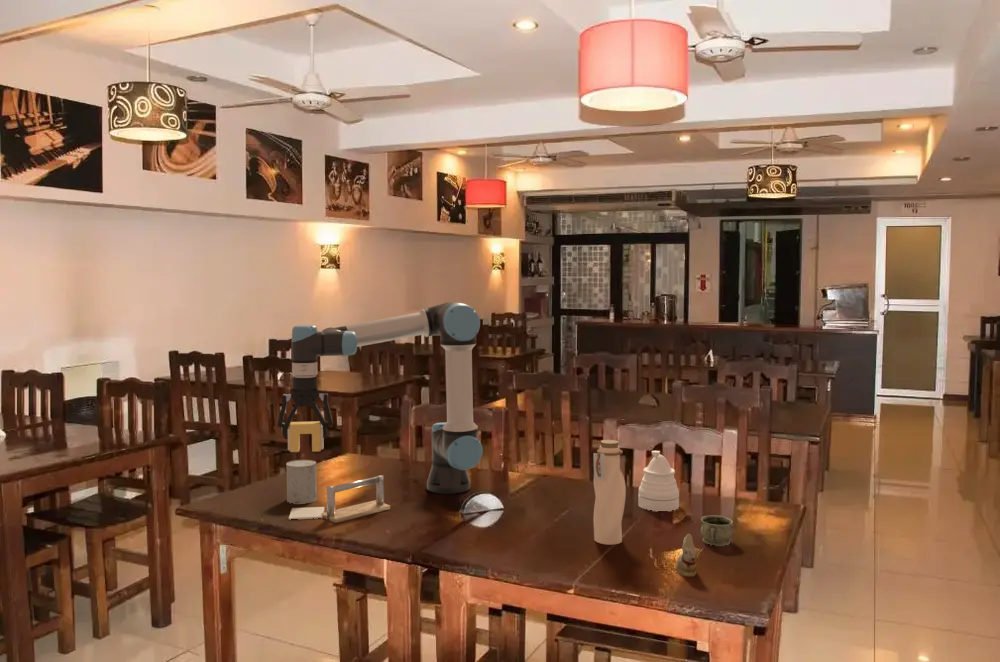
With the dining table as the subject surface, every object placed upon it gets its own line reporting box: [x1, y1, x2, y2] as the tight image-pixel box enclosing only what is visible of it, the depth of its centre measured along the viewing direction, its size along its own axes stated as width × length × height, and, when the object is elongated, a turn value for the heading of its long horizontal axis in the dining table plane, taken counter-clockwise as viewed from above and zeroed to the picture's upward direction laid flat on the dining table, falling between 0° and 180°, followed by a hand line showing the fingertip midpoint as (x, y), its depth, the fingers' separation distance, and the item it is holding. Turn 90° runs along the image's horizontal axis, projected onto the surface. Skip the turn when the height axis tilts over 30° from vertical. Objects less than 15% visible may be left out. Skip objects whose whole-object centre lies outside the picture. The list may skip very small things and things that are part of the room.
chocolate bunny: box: [675, 533, 698, 578], centre depth 198 cm, size 6×8×10 cm
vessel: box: [700, 515, 734, 547], centre depth 220 cm, size 12×9×6 cm
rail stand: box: [321, 474, 391, 524], centre depth 245 cm, size 20×8×10 cm, turn 134°
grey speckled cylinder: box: [286, 459, 318, 505], centre depth 259 cm, size 10×10×12 cm
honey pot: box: [637, 450, 680, 512], centre depth 254 cm, size 13×13×18 cm
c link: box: [289, 420, 322, 453], centre depth 242 cm, size 9×4×8 cm, turn 99°
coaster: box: [288, 506, 325, 521], centre depth 244 cm, size 10×10×1 cm
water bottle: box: [592, 439, 627, 545], centre depth 220 cm, size 10×9×28 cm
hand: (305, 448), depth 243 cm, fingers closed on c link, 9 cm apart
